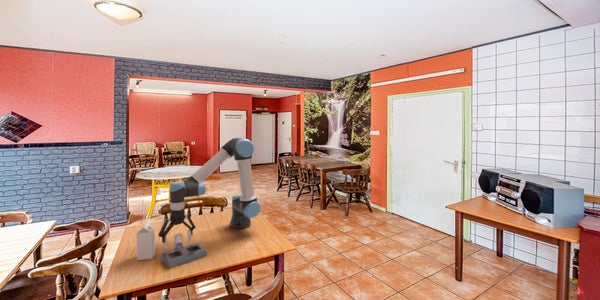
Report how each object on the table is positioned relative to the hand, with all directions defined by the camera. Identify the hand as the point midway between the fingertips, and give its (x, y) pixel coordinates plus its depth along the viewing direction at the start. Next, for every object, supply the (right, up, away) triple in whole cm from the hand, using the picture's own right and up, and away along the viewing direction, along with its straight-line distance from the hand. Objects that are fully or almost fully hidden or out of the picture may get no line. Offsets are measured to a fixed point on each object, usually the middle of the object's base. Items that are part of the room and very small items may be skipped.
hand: (177, 244), depth 155 cm
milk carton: (-13, -4, -8) cm, 16 cm away
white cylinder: (0, -3, 0) cm, 3 cm away
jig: (+8, -4, -9) cm, 12 cm away
